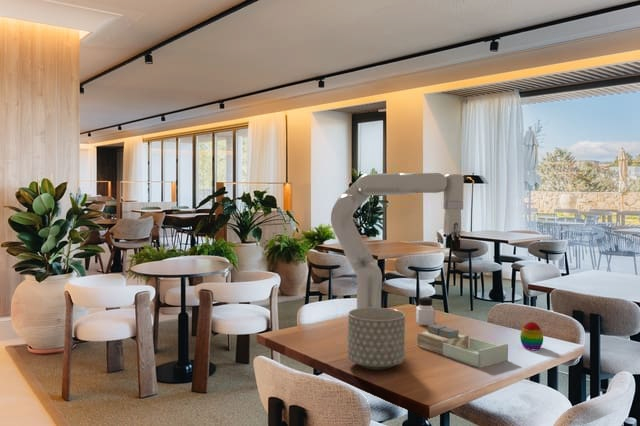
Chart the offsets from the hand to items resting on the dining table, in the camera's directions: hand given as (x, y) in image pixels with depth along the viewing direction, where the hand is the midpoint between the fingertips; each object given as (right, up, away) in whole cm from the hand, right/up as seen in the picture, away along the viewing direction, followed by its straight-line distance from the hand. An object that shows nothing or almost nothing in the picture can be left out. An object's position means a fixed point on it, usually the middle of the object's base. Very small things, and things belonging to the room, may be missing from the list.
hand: (452, 249), depth 202 cm
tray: (+3, -38, -17) cm, 42 cm away
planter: (-33, -38, -27) cm, 57 cm away
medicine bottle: (-4, -36, +33) cm, 49 cm away
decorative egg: (+29, -38, -4) cm, 48 cm away
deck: (-5, -37, -4) cm, 38 cm away
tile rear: (-7, -32, -2) cm, 33 cm away
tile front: (-3, -33, -7) cm, 33 cm away
